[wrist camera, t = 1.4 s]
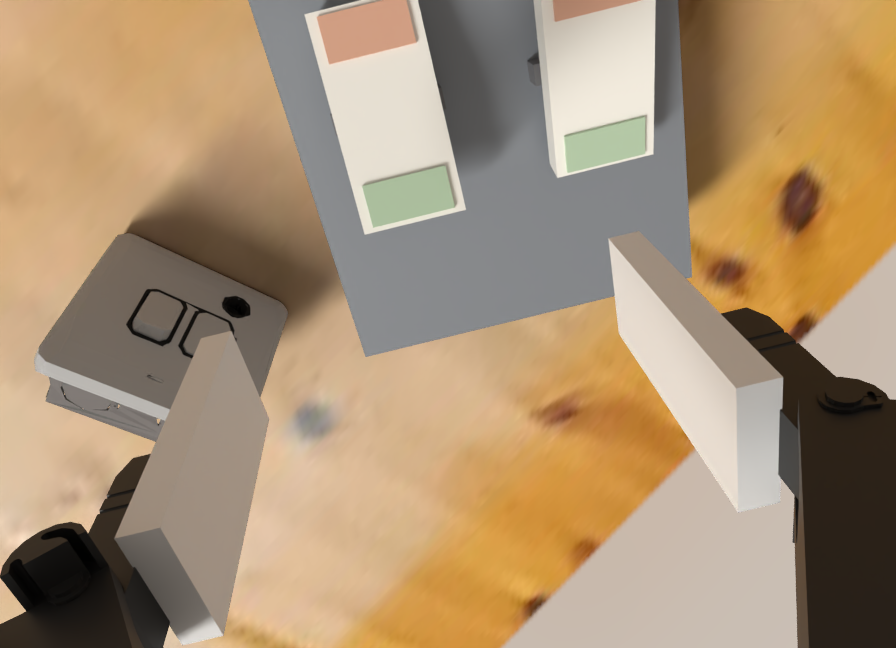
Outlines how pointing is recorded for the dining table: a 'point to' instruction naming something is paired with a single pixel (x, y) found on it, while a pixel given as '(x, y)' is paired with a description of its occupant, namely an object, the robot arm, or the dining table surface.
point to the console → (484, 180)
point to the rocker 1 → (386, 111)
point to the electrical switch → (149, 334)
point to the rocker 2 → (596, 81)
